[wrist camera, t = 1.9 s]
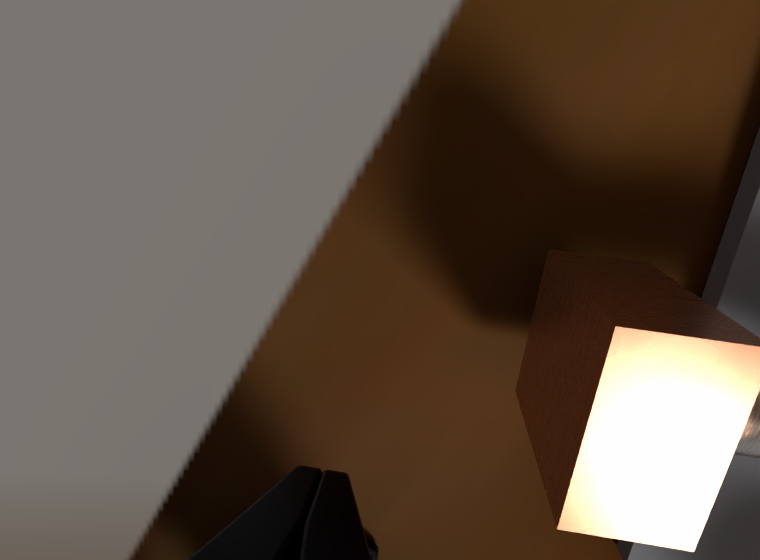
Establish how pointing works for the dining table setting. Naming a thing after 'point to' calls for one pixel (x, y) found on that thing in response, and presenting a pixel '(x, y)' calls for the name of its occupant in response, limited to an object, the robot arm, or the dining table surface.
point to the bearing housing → (756, 313)
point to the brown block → (634, 399)
